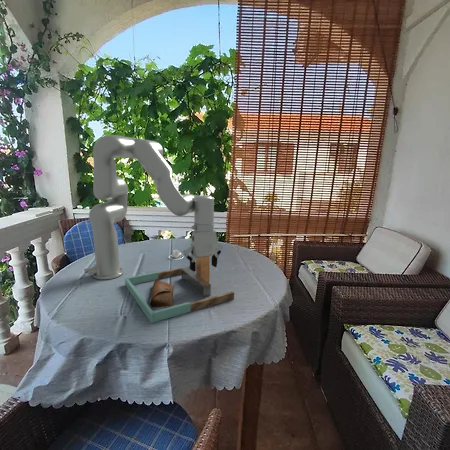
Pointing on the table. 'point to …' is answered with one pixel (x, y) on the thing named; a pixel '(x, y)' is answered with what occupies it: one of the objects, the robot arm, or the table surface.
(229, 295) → the channel
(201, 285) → the plank and post
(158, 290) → the sunglasses case
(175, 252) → the white looped piece
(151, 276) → the tray
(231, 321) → the table surface
